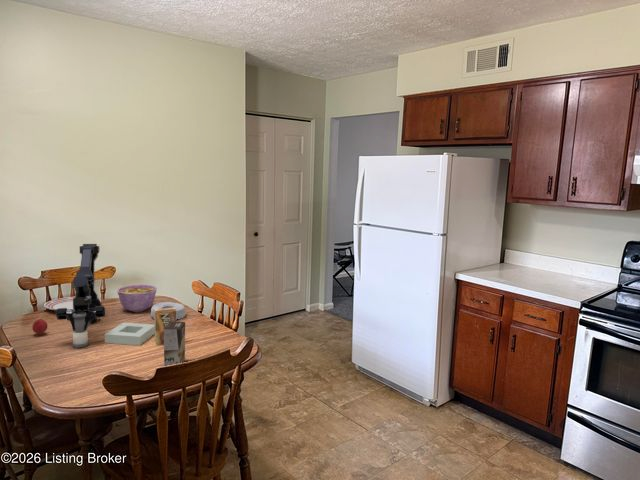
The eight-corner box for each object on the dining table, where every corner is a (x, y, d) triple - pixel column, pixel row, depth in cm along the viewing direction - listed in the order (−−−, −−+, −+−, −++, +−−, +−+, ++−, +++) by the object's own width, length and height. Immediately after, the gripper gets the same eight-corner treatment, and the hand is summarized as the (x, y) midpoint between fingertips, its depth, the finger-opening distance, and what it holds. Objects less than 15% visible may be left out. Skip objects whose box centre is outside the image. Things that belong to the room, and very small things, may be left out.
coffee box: (180, 368, 173) (180, 329, 171) (163, 368, 173) (163, 328, 170) (185, 358, 182) (185, 321, 180) (169, 358, 182) (169, 321, 179)
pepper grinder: (78, 341, 194) (77, 311, 192) (91, 342, 193) (90, 312, 191) (69, 347, 188) (68, 315, 186) (83, 348, 187) (82, 316, 185)
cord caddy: (123, 330, 211) (123, 322, 210) (155, 332, 210) (155, 324, 209) (104, 342, 195) (104, 334, 194) (139, 345, 194) (139, 336, 193)
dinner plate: (50, 302, 250) (50, 296, 250) (103, 299, 260) (103, 293, 259) (38, 317, 225) (38, 310, 224) (98, 313, 235) (98, 307, 234)
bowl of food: (123, 304, 251) (122, 284, 249) (159, 304, 254) (159, 284, 253) (113, 315, 231) (112, 294, 230) (153, 315, 235) (153, 294, 233)
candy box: (175, 339, 203) (174, 307, 201) (176, 342, 199) (176, 309, 197) (154, 341, 199) (154, 308, 197) (155, 344, 195) (155, 311, 193)
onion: (40, 337, 198) (39, 320, 197) (29, 336, 199) (28, 319, 198) (50, 333, 203) (49, 316, 202) (40, 331, 204) (39, 315, 203)
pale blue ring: (152, 312, 240) (152, 301, 239) (185, 311, 245) (185, 300, 244) (149, 322, 224) (149, 311, 223) (185, 321, 228) (185, 310, 228)
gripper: (55, 290, 187) (51, 323, 179) (104, 288, 194) (102, 320, 185) (59, 303, 196) (55, 335, 187) (106, 300, 202) (104, 331, 194)
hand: (79, 330), depth 188 cm, fingers closed on pepper grinder, 4 cm apart
